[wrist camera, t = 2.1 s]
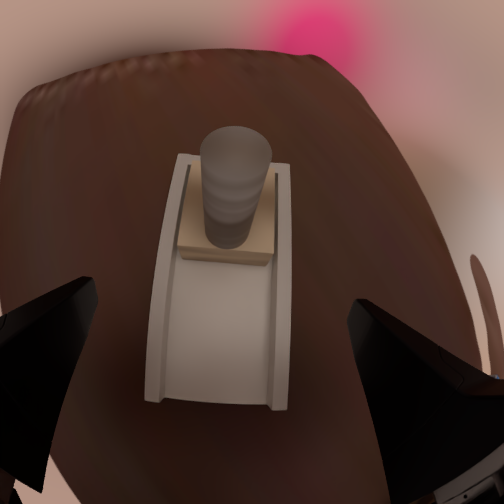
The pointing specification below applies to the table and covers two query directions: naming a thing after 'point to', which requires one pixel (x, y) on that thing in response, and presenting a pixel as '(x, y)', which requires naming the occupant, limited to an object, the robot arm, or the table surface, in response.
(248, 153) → the handle block
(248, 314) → the shelf lane
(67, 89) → the table surface
